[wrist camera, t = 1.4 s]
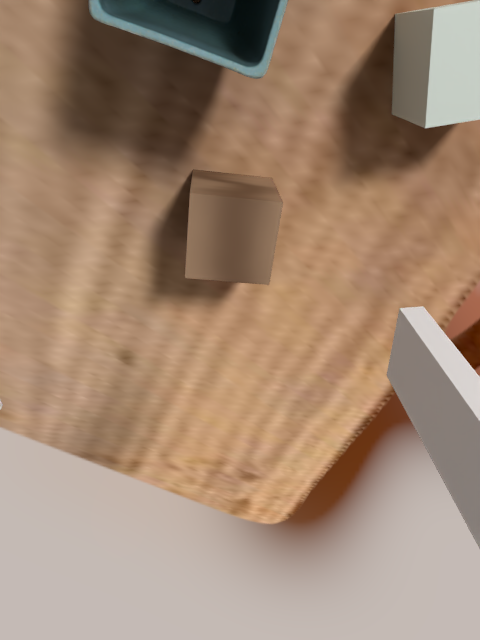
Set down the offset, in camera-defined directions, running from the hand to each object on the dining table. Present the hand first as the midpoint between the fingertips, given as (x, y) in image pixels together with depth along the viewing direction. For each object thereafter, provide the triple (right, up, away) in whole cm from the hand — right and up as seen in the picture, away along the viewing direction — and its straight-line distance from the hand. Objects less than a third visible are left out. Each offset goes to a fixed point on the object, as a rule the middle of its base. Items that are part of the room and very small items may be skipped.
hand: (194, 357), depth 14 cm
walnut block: (+1, +10, +21) cm, 23 cm away
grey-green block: (+15, +19, +16) cm, 29 cm away
